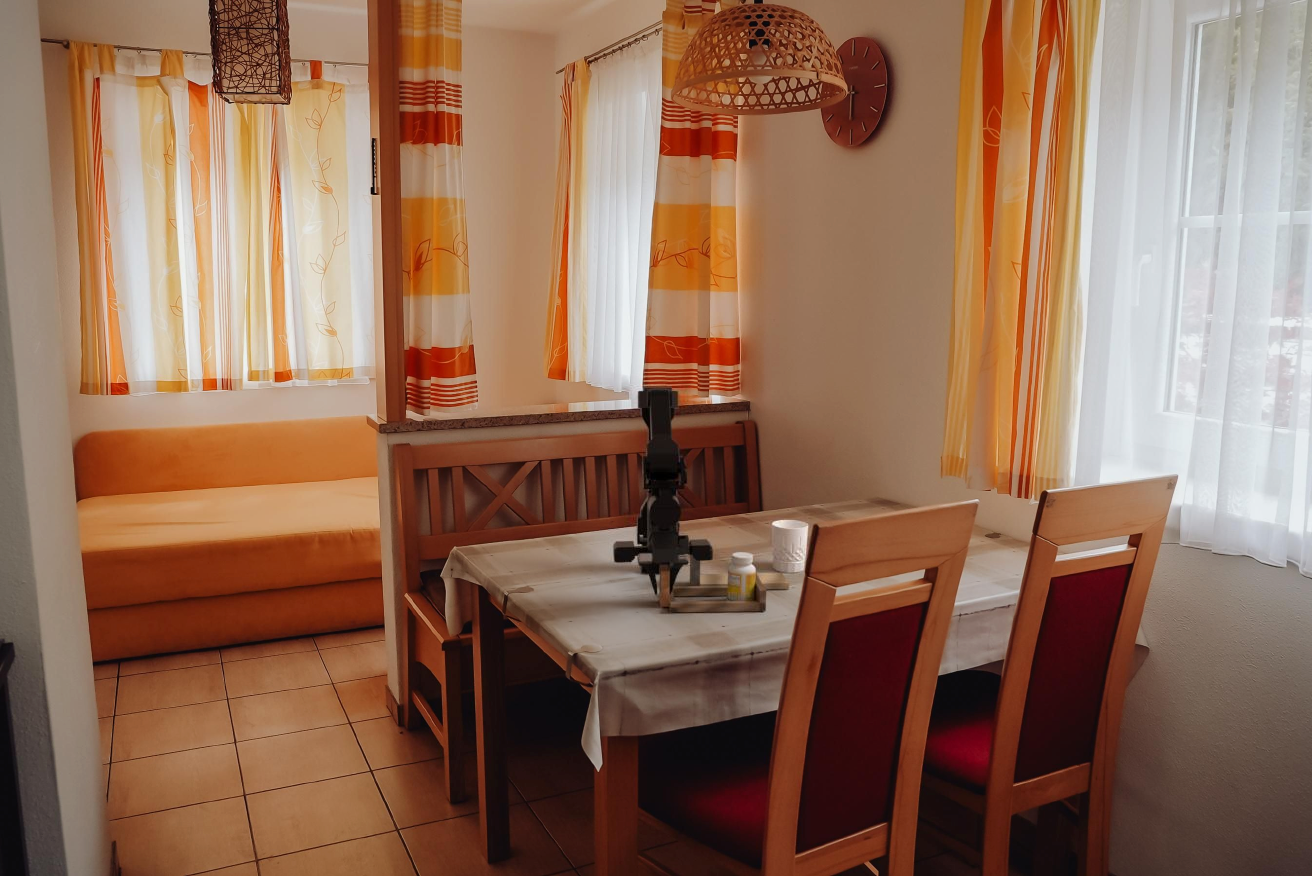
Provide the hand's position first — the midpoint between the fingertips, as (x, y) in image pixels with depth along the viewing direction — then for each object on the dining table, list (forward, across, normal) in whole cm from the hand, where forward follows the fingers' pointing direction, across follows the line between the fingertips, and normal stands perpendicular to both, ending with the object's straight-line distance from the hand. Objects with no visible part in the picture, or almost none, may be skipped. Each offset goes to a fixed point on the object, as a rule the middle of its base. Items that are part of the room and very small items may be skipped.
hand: (662, 594), depth 188 cm
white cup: (+3, +30, +23) cm, 37 cm away
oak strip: (+2, +17, +11) cm, 21 cm away
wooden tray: (+2, +10, 0) cm, 10 cm away
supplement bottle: (+2, +15, 0) cm, 15 cm away
